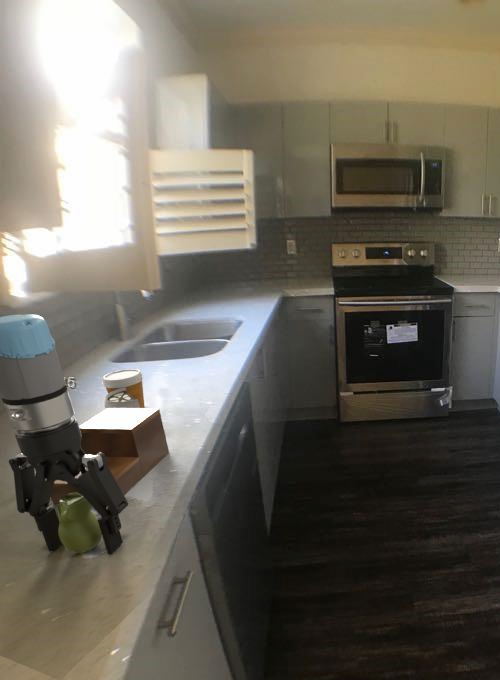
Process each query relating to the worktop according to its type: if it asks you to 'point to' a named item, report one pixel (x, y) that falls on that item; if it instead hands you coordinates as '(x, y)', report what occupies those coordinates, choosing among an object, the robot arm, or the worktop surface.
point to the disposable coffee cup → (126, 383)
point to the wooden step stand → (121, 445)
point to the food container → (120, 400)
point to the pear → (77, 524)
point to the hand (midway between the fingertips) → (86, 546)
